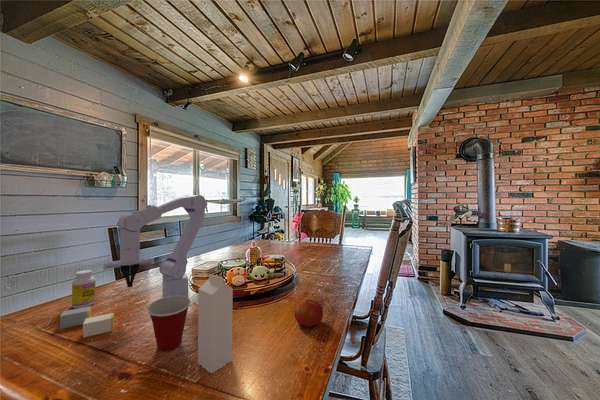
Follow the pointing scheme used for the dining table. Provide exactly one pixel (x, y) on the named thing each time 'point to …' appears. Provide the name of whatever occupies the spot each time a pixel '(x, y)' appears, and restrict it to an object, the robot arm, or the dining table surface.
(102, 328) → the cream block
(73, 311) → the grey block
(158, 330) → the plastic cup
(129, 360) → the dining table surface
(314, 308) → the tomato
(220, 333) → the milk
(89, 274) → the supplement bottle
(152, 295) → the dining table surface
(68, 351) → the dining table surface
